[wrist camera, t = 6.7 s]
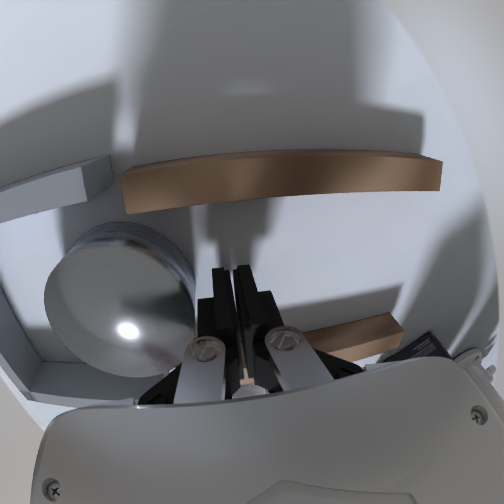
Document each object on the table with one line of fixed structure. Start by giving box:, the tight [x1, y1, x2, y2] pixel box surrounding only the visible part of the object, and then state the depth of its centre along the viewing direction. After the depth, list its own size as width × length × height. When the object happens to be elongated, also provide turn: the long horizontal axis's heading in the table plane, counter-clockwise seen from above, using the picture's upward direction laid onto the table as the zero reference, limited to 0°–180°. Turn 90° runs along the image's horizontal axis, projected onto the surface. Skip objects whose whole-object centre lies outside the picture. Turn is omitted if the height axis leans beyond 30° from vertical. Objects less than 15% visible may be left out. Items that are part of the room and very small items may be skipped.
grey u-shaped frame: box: [0, 155, 169, 408], centre depth 11 cm, size 11×13×3 cm
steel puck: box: [44, 222, 195, 377], centre depth 12 cm, size 7×7×3 cm
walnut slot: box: [119, 149, 443, 385], centre depth 13 cm, size 14×12×2 cm
